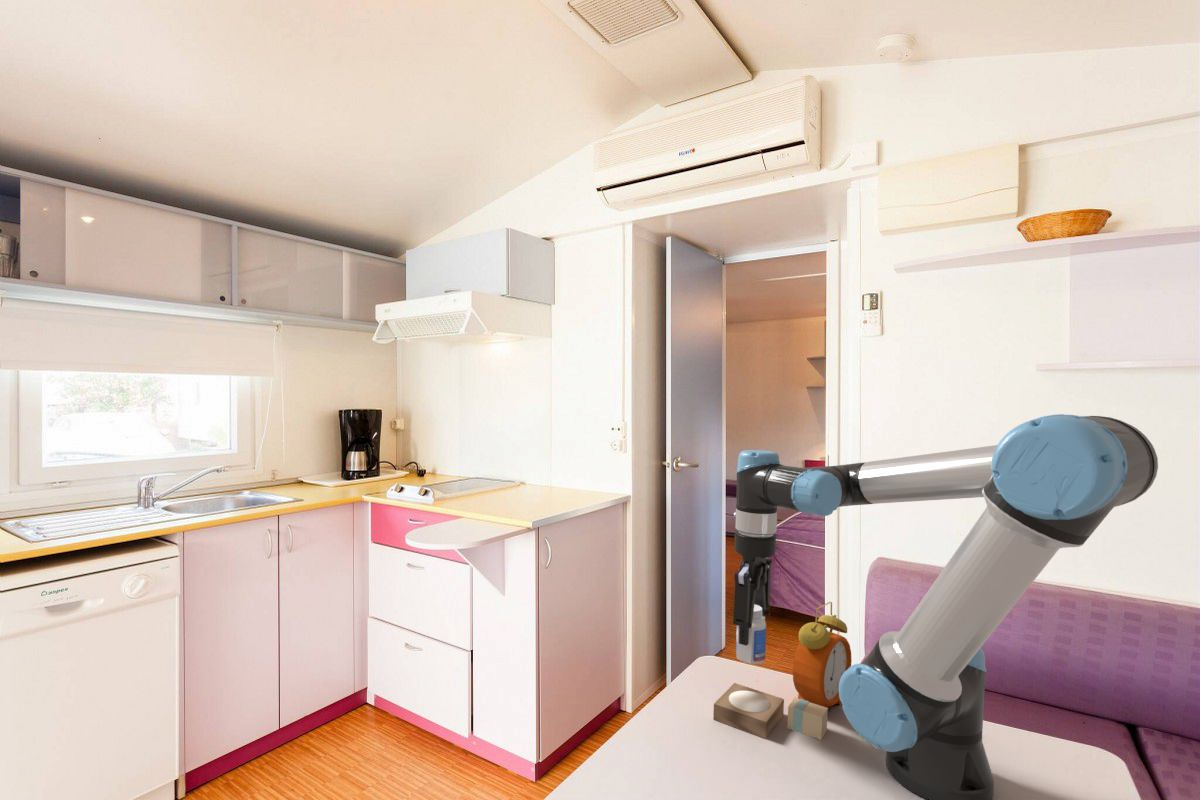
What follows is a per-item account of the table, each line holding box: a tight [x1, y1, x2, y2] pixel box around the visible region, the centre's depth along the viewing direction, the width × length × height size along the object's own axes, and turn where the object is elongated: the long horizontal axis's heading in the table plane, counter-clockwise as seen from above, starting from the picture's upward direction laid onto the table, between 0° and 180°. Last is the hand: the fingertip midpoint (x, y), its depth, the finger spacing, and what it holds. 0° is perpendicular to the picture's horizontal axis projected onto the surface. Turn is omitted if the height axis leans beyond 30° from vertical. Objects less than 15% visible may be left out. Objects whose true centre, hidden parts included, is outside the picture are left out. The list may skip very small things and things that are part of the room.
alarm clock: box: [792, 601, 852, 709], centre depth 117 cm, size 13×6×20 cm, turn 133°
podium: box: [712, 682, 785, 739], centre depth 112 cm, size 10×10×3 cm
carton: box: [787, 697, 829, 740], centre depth 109 cm, size 6×4×4 cm
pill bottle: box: [735, 604, 767, 665], centre depth 112 cm, size 6×5×10 cm
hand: (750, 654), depth 112 cm, fingers closed on pill bottle, 5 cm apart
